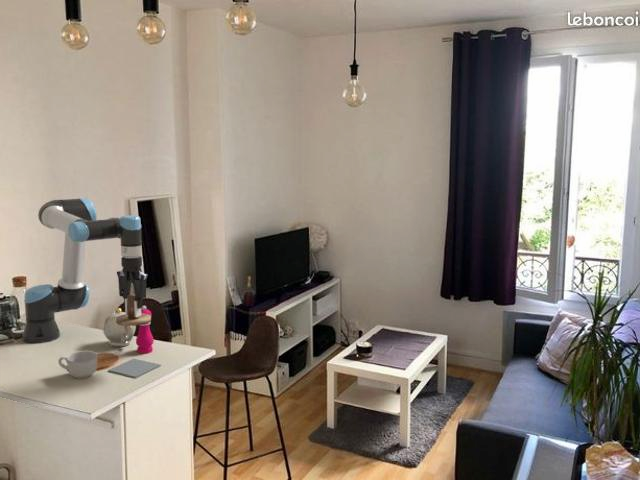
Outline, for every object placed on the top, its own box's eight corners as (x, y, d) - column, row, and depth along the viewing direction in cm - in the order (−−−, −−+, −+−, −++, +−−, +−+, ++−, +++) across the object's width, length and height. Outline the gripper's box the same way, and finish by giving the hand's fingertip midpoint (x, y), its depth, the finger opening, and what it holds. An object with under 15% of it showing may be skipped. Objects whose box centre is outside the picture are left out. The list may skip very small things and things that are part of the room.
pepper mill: (132, 352, 248) (131, 306, 245) (143, 347, 255) (142, 302, 252) (146, 355, 246) (145, 309, 242) (157, 349, 252) (156, 304, 249)
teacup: (102, 370, 228) (102, 351, 227) (89, 382, 217) (88, 361, 216) (68, 368, 229) (67, 349, 228) (53, 379, 219) (52, 359, 217)
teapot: (97, 343, 258) (95, 307, 255) (125, 336, 268) (124, 302, 265) (118, 354, 246) (116, 316, 243) (146, 346, 256) (145, 310, 253)
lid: (108, 322, 225) (107, 296, 223) (132, 314, 236) (132, 289, 235) (134, 327, 219) (133, 301, 217) (158, 318, 231) (157, 293, 229)
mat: (108, 371, 228) (108, 369, 228) (133, 359, 240) (133, 358, 240) (135, 378, 222) (135, 376, 222) (160, 366, 234) (160, 364, 234)
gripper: (107, 255, 224) (109, 314, 228) (141, 260, 217) (143, 321, 220) (121, 252, 230) (123, 310, 234) (155, 256, 223) (157, 316, 227)
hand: (133, 315), depth 227 cm, fingers closed on lid, 4 cm apart
